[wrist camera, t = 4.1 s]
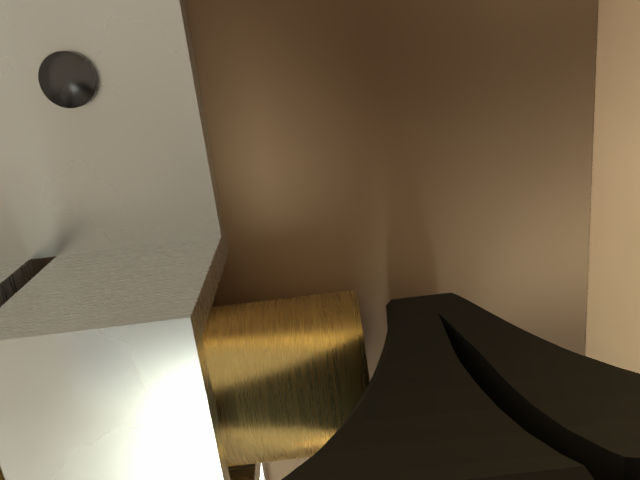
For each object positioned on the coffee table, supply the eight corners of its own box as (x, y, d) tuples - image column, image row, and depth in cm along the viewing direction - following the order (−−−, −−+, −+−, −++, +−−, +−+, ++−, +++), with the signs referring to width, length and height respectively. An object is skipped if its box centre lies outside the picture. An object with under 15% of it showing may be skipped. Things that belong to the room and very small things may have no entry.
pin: (349, 267, 11) (365, 335, 9) (362, 390, 12) (380, 485, 10) (-159, 328, 12) (-295, 414, 9) (-109, 447, 12) (-220, 557, 10)
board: (561, 597, 16) (575, 625, 15) (-113, 679, 16) (-133, 711, 15) (583, -206, 10) (607, -227, 9) (-492, -78, 10) (-557, -87, 9)
